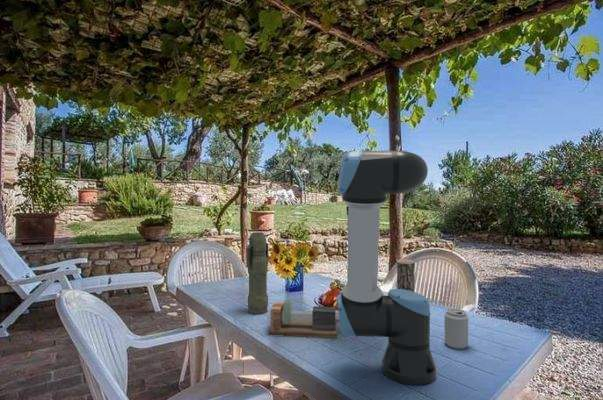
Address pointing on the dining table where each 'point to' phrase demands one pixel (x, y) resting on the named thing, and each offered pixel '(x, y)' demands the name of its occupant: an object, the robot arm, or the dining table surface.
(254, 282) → the thermos
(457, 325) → the can
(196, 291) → the dining table surface
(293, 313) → the pale green block
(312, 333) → the tube rig
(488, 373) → the dining table surface
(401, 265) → the bark textured post
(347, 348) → the dining table surface
